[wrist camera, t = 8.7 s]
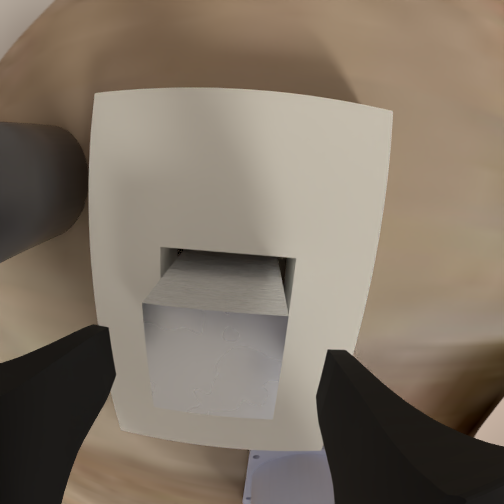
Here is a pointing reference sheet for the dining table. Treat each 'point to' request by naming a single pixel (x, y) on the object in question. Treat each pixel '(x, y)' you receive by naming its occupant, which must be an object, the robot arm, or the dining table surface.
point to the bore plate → (236, 232)
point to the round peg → (38, 185)
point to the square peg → (217, 334)
